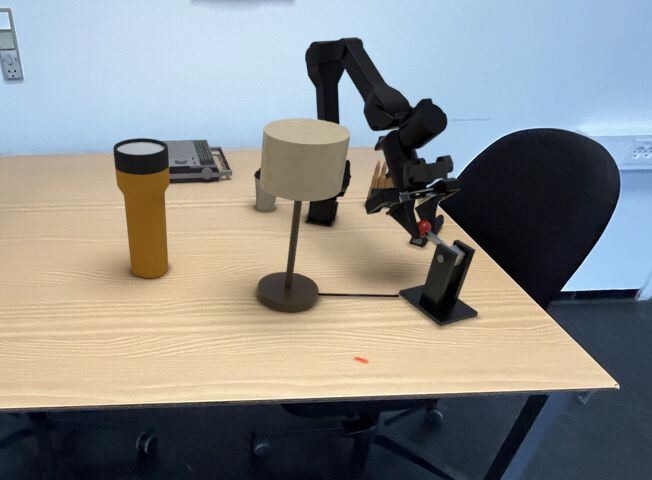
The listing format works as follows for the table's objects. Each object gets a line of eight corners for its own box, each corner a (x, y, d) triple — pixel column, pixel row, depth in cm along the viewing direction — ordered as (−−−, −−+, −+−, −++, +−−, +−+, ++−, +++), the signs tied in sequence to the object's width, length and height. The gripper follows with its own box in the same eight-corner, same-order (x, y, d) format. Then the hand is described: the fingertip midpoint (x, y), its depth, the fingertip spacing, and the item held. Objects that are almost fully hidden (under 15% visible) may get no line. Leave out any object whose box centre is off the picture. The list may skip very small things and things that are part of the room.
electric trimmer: (446, 227, 130) (450, 215, 128) (422, 249, 121) (426, 236, 119) (431, 223, 132) (435, 211, 130) (407, 244, 122) (410, 232, 120)
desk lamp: (253, 315, 99) (265, 143, 79) (250, 277, 110) (261, 117, 90) (408, 318, 99) (459, 147, 79) (390, 279, 110) (431, 120, 90)
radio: (157, 138, 164) (220, 137, 166) (158, 155, 167) (220, 153, 170) (162, 165, 146) (233, 163, 148) (163, 184, 149) (232, 181, 151)
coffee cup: (248, 210, 136) (250, 172, 129) (256, 200, 141) (259, 163, 134) (273, 215, 134) (277, 176, 127) (281, 205, 139) (285, 167, 132)
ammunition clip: (367, 207, 139) (376, 161, 131) (365, 204, 140) (374, 159, 133) (406, 207, 139) (418, 161, 132) (404, 204, 141) (415, 159, 133)
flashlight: (102, 149, 93) (128, 133, 100) (117, 276, 109) (138, 255, 116) (154, 156, 90) (176, 139, 97) (161, 285, 107) (180, 262, 114)
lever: (407, 232, 102) (413, 218, 100) (420, 229, 103) (426, 215, 101) (447, 269, 95) (455, 254, 93) (461, 265, 96) (468, 251, 94)
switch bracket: (398, 295, 105) (414, 236, 97) (433, 286, 108) (451, 229, 100) (439, 327, 97) (460, 266, 89) (476, 317, 100) (500, 257, 91)
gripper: (388, 145, 91) (413, 230, 90) (470, 134, 97) (494, 214, 96) (353, 174, 101) (375, 251, 101) (429, 162, 107) (451, 235, 107)
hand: (424, 237), depth 101 cm, fingers closed on lever, 3 cm apart
